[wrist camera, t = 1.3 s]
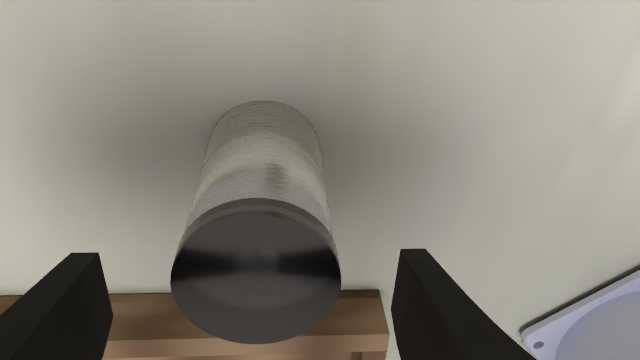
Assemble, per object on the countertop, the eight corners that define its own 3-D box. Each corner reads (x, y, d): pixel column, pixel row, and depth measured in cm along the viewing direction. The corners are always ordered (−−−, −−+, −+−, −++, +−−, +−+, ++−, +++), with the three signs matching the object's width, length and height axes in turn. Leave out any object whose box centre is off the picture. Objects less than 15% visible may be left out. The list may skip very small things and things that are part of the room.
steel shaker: (342, 158, 18) (373, 292, 12) (259, 217, 19) (249, 365, 13) (271, 76, 16) (266, 185, 10) (183, 145, 18) (133, 280, 12)
